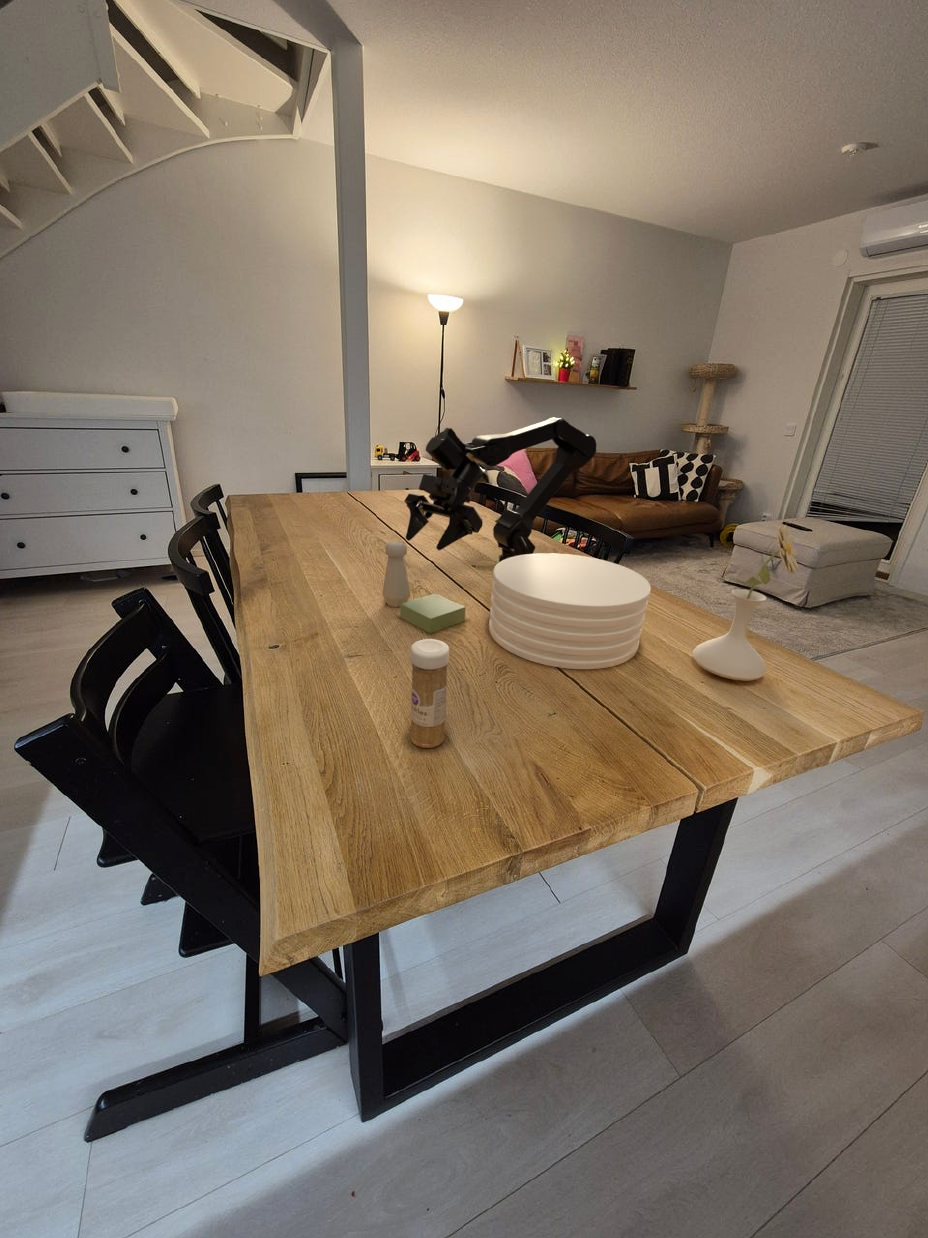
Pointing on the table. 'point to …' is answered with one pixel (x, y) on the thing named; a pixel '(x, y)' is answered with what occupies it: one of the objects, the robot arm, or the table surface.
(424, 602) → the green block
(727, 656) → the flower in vase
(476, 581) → the table surface
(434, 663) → the sprinkles bottle
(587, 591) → the plate stack
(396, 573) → the salt shaker
